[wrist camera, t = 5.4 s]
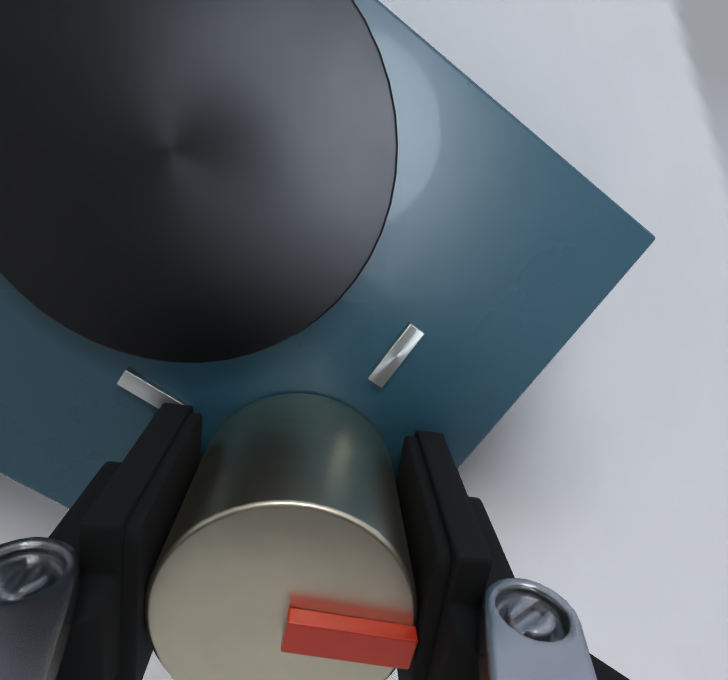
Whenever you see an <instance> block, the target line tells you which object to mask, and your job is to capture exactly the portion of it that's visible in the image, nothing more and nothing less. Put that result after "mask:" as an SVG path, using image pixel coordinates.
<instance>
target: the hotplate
mask: <svg viewBox="0 0 728 680" xmlns="http://www.w3.org/2000/svg"><path fill="white" fill-rule="evenodd" d="M397 160H398V133H397V117H396V110H395V105H394V100H393V94H392V89H391V84H390V80H389V77H388V74H387V71H386V68H385V64H384V61H383V58H382V55H381V52H380V50H379V47H378V45H377V43H376V41H375V39H374V36H373V34H372V32H371V30H370V28H369V26H368V23H367V21H366V19H365V18H364V16H363V15H362V13H361V11H360V10H359V8H358V6H357V5H356V3H355V2H354V0H0V273H1V274H2V275H3V276H4V277H5V278H6V279H7V280H8V281H9V283H10V284H11V285H12V286H13V287H14V288H15V289H16V290H17V291H18V292H19V293H20V294H21V295H23V296H24V297H25V298H26V299H27V300H29V301H30V302H31V303H32V304H33V305H34V306H36V307H37V308H38V309H39V310H40V311H42V312H43V313H44V314H46V315H47V316H49V317H50V318H52V319H53V320H55V321H56V322H58V323H59V324H61V325H62V326H64V327H65V328H67V329H69V330H71V331H73V332H75V333H76V334H78V335H80V336H82V337H84V338H86V339H88V340H90V341H92V342H94V343H97V344H100V345H102V346H105V347H107V348H110V349H112V350H115V351H118V352H121V353H125V354H129V355H133V356H137V357H140V358H144V359H151V360H158V361H165V362H173V363H204V362H214V361H224V360H229V359H233V358H238V357H242V356H247V355H251V354H254V353H256V352H259V351H262V350H264V349H267V348H270V347H273V346H275V345H277V344H279V343H281V342H283V341H285V340H287V339H289V338H291V337H293V336H294V335H296V334H298V333H300V332H301V331H303V330H304V329H305V328H307V327H308V326H310V325H311V324H313V323H314V322H315V321H317V320H318V319H320V318H321V317H322V316H323V315H324V314H325V313H326V312H327V311H328V310H329V309H331V308H332V307H333V306H334V305H335V304H336V303H337V302H338V301H339V300H340V299H341V298H342V297H343V295H344V294H345V293H346V292H347V291H348V289H349V288H350V287H351V286H352V285H353V283H354V282H355V281H356V280H357V278H358V277H359V275H360V273H361V272H362V270H363V269H364V267H365V266H366V264H367V262H368V261H369V259H370V258H371V256H372V254H373V251H374V249H375V247H376V245H377V243H378V241H379V239H380V236H381V234H382V232H383V229H384V226H385V223H386V220H387V217H388V213H389V210H390V207H391V203H392V198H393V193H394V187H395V182H396V176H397Z"/></svg>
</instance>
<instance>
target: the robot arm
mask: <svg viewBox="0 0 728 680" xmlns="http://www.w3.org/2000/svg"><path fill="white" fill-rule="evenodd" d="M201 434H202V414H200V413H194V411H193V406H191V405H183V404H173V403H163V404H162V406H161V407H160V408H159V410H158V411H157V413H156V414H155V416H154V417H153V418H152V420H151V421H150V423H149V424H148V426H147V427H146V428H145V430H144V431H143V433H142V434H141V436H140V437H139V438H138V440H137V441H136V443H135V444H134V446H133V447H132V448H131V450H130V451H129V453H128V454H127V456H126V457H125V459H124V460H123V461H122V462H113V461H109V462H106V463H105V464H104V465H103V466H102V467H101V469H100V470H99V471H98V472H97V474H96V475H95V476H94V478H93V479H92V480H91V482H90V483H89V484H88V486H87V487H86V488H85V490H84V491H83V492H82V494H81V495H80V496H79V498H78V499H77V500H76V502H75V503H74V504H73V506H72V507H71V508H70V510H69V511H68V512H67V514H66V515H65V516H64V518H63V519H62V520H61V522H60V523H59V524H58V526H57V527H56V528H55V530H54V531H53V532H52V534H51V535H50V536H49V538H43V537H33V538H25V539H18V540H14V541H11V542H7V543H4V544H1V545H0V680H142V679H143V676H144V673H145V670H146V668H147V665H148V662H149V660H150V657H151V654H152V651H153V648H152V645H151V643H150V640H149V637H148V633H147V629H146V624H145V614H144V607H145V594H146V590H147V586H148V581H149V579H150V576H151V574H152V572H153V569H154V567H155V565H156V562H157V560H158V558H159V556H160V553H161V551H162V549H163V546H164V544H165V542H166V540H167V537H168V535H169V533H170V530H171V528H172V526H173V524H174V521H175V519H176V517H177V514H178V512H179V510H180V508H181V505H182V503H183V501H184V499H185V496H186V494H187V492H188V489H189V487H190V485H191V483H192V480H193V478H194V476H195V473H196V471H197V469H198V467H199V464H200V450H201ZM396 488H397V493H398V498H399V504H400V509H401V514H402V519H403V524H404V530H405V535H406V540H407V545H408V551H409V556H410V561H411V566H412V571H413V577H414V582H415V587H416V592H417V603H418V612H417V623H416V632H417V637H418V644H417V647H416V650H415V653H414V656H413V659H412V661H411V664H410V667H409V669H408V670H406V669H399V668H397V671H398V679H399V680H629V679H628V678H626V677H625V676H623V675H622V674H620V673H619V672H617V671H616V670H614V669H613V668H611V667H610V666H608V665H607V664H605V663H604V662H602V661H601V660H599V659H597V658H596V657H594V656H593V655H591V654H590V653H589V650H588V647H587V643H586V640H585V637H584V633H583V630H582V626H581V623H580V621H579V619H578V616H577V614H576V612H575V611H574V609H573V608H572V607H571V606H570V605H569V604H568V602H567V601H566V600H565V599H563V598H562V597H561V596H560V595H558V594H557V593H556V592H554V591H553V590H551V589H549V588H547V587H545V586H543V585H542V584H539V583H536V582H533V581H530V580H527V579H520V578H515V577H514V575H513V573H512V570H511V568H510V566H509V563H508V561H507V559H506V557H505V554H504V552H503V550H502V547H501V545H500V543H499V540H498V538H497V536H496V533H495V531H494V529H493V526H492V524H491V522H490V519H489V517H488V515H487V512H486V510H485V508H484V506H483V503H482V502H481V500H480V499H479V498H476V497H468V495H467V493H466V490H465V488H464V485H463V483H462V480H461V478H460V475H459V473H458V470H457V468H456V465H455V463H454V460H453V458H452V455H451V453H450V450H449V448H448V445H447V443H446V440H445V437H444V435H443V433H438V432H429V431H420V430H416V431H415V433H414V436H413V437H412V436H406V437H405V439H404V442H403V448H402V453H401V458H400V464H399V469H398V474H397V480H396Z"/></svg>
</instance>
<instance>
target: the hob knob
mask: <svg viewBox="0 0 728 680" xmlns="http://www.w3.org/2000/svg"><path fill="white" fill-rule="evenodd" d="M417 612H418V603H417V592H416V587H415V582H414V577H413V571H412V566H411V561H410V556H409V551H408V545H407V540H406V535H405V530H404V524H403V519H402V514H401V509H400V504H399V498H398V493H397V488H396V483H395V477H394V472H393V467H392V463H391V458H390V454H389V452H388V449H387V447H386V445H385V443H384V441H383V439H382V438H381V436H380V434H379V433H378V432H377V430H376V429H375V428H374V427H373V425H372V424H371V423H370V422H369V421H367V420H366V419H365V418H364V417H363V416H362V415H361V414H359V413H358V412H356V411H355V410H354V409H352V408H350V407H348V406H346V405H345V404H343V403H340V402H338V401H335V400H333V399H330V398H327V397H323V396H319V395H313V394H305V393H289V394H280V395H275V396H270V397H266V398H263V399H260V400H258V401H255V402H253V403H251V404H249V405H247V406H245V407H243V408H241V409H240V410H238V411H237V412H235V413H234V414H233V415H231V416H230V417H229V418H228V419H227V420H226V421H225V422H224V423H223V424H222V425H221V426H220V427H219V428H218V430H217V431H216V432H215V434H214V435H213V437H212V439H211V440H210V442H209V444H208V446H207V448H206V451H205V453H204V455H203V457H202V460H201V462H200V464H199V467H198V469H197V471H196V473H195V476H194V478H193V480H192V483H191V485H190V487H189V489H188V492H187V494H186V496H185V499H184V501H183V503H182V505H181V508H180V510H179V512H178V514H177V517H176V519H175V521H174V524H173V526H172V528H171V530H170V533H169V535H168V537H167V540H166V542H165V544H164V546H163V549H162V551H161V553H160V556H159V558H158V560H157V562H156V565H155V567H154V569H153V572H152V574H151V576H150V579H149V581H148V586H147V590H146V594H145V607H144V614H145V624H146V629H147V633H148V637H149V640H150V643H151V645H152V648H153V650H154V652H155V654H156V656H157V657H158V659H159V661H160V662H161V664H162V665H163V667H164V668H165V669H166V670H167V672H168V673H169V674H170V675H171V676H172V677H173V678H174V679H175V680H386V679H387V678H388V677H389V676H390V675H391V674H392V672H393V671H394V670H395V669H396V668H399V669H406V670H408V669H409V667H410V664H411V661H412V659H413V656H414V653H415V650H416V647H417V644H418V637H417V632H416V623H417Z"/></svg>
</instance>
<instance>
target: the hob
mask: <svg viewBox="0 0 728 680" xmlns="http://www.w3.org/2000/svg"><path fill="white" fill-rule="evenodd" d="M354 2H355V3H356V5H357V6H358V8H359V10H360V11H361V13H362V15H363V16H364V18H365V19H366V21H367V23H368V26H369V28H370V30H371V32H372V34H373V36H374V39H375V41H376V43H377V45H378V47H379V50H380V52H381V55H382V58H383V61H384V64H385V68H386V71H387V74H388V77H389V80H390V84H391V89H392V94H393V100H394V105H395V110H396V117H397V133H398V160H397V176H396V182H395V187H394V193H393V198H392V203H391V207H390V210H389V213H388V217H387V220H386V223H385V226H384V229H383V232H382V234H381V236H380V239H379V241H378V243H377V245H376V247H375V249H374V251H373V254H372V256H371V258H370V259H369V261H368V262H367V264H366V266H365V267H364V269H363V270H362V272H361V273H360V275H359V277H358V278H357V280H356V281H355V282H354V283H353V285H352V286H351V287H350V288H349V289H348V291H347V292H346V293H345V294H344V295H343V297H342V298H341V299H340V300H339V301H338V302H337V303H336V304H335V305H334V306H333V307H332V308H331V309H329V310H328V311H327V312H326V313H325V314H324V315H323V316H322V317H321V318H320V319H318V320H317V321H315V322H314V323H313V324H311V325H310V326H308V327H307V328H305V329H304V330H303V331H301V332H300V333H298V334H296V335H294V336H293V337H291V338H289V339H287V340H285V341H283V342H281V343H279V344H277V345H275V346H273V347H270V348H267V349H264V350H262V351H259V352H256V353H254V354H251V355H247V356H242V357H238V358H233V359H229V360H224V361H214V362H204V363H173V362H165V361H158V360H151V359H144V358H140V357H137V356H133V355H129V354H125V353H121V352H118V351H115V350H112V349H110V348H107V347H105V346H102V345H100V344H97V343H94V342H92V341H90V340H88V339H86V338H84V337H82V336H80V335H78V334H76V333H75V332H73V331H71V330H69V329H67V328H65V327H64V326H62V325H61V324H59V323H58V322H56V321H55V320H53V319H52V318H50V317H49V316H47V315H46V314H44V313H43V312H42V311H40V310H39V309H38V308H37V307H36V306H34V305H33V304H32V303H31V302H30V301H29V300H27V299H26V298H25V297H24V296H23V295H21V294H20V293H19V292H18V291H17V290H16V289H15V288H14V287H13V286H12V285H11V284H10V283H9V281H8V280H7V279H6V278H5V277H4V276H3V275H2V274H1V273H0V473H2V474H4V475H6V476H8V477H10V478H12V479H14V480H16V481H17V482H19V483H21V484H23V485H25V486H27V487H29V488H31V489H33V490H35V491H37V492H39V493H40V494H42V495H44V496H46V497H48V498H50V499H52V500H54V501H56V502H58V503H60V504H61V505H63V506H65V507H67V508H69V509H70V508H71V507H72V506H73V504H74V503H75V502H76V500H77V499H78V498H79V496H80V495H81V494H82V492H83V491H84V490H85V488H86V487H87V486H88V484H89V483H90V482H91V480H92V479H93V478H94V476H95V475H96V474H97V472H98V471H99V470H100V469H101V467H102V466H103V465H104V464H105V463H106V462H109V461H113V462H122V461H123V460H124V459H125V457H126V456H127V454H128V453H129V451H130V450H131V448H132V447H133V446H134V444H135V443H136V441H137V440H138V438H139V437H140V436H141V434H142V433H143V431H144V430H145V428H146V427H147V426H148V424H149V423H150V421H151V420H152V418H153V417H154V416H155V414H156V413H157V411H158V410H159V408H160V407H161V406H162V404H163V403H173V404H183V405H191V406H193V411H194V413H200V414H202V434H201V450H200V462H201V460H202V457H203V455H204V453H205V451H206V448H207V446H208V444H209V442H210V440H211V439H212V437H213V435H214V434H215V432H216V431H217V430H218V428H219V427H220V426H221V425H222V424H223V423H224V422H225V421H226V420H227V419H228V418H229V417H230V416H231V415H233V414H234V413H235V412H237V411H238V410H240V409H241V408H243V407H245V406H247V405H249V404H251V403H253V402H255V401H258V400H260V399H263V398H266V397H270V396H275V395H280V394H289V393H305V394H313V395H319V396H323V397H327V398H330V399H333V400H335V401H338V402H340V403H343V404H345V405H346V406H348V407H350V408H352V409H354V410H355V411H356V412H358V413H359V414H361V415H362V416H363V417H364V418H365V419H366V420H367V421H369V422H370V423H371V424H372V425H373V427H374V428H375V429H376V430H377V432H378V433H379V434H380V436H381V438H382V439H383V441H384V443H385V445H386V447H387V449H388V452H389V454H390V458H391V463H392V467H393V472H394V477H395V483H396V480H397V474H398V469H399V464H400V458H401V453H402V448H403V442H404V439H405V437H406V436H412V437H413V436H414V433H415V431H416V430H420V431H429V432H438V433H443V435H444V437H445V440H446V443H447V445H448V448H449V450H450V453H451V455H452V458H453V460H454V463H455V465H456V468H457V469H458V468H459V466H460V465H461V464H462V463H463V462H464V461H465V459H466V458H467V457H468V456H469V455H470V454H471V452H472V451H473V450H474V449H475V448H476V447H477V446H478V444H479V443H480V442H481V441H482V440H483V439H484V437H485V436H486V435H487V434H488V433H489V432H490V430H491V429H492V428H493V427H494V426H495V425H496V423H497V422H498V421H499V420H500V419H501V418H502V417H503V415H504V414H505V413H506V412H507V411H508V410H509V408H510V407H511V406H512V405H513V404H514V403H515V401H516V400H517V399H518V398H519V397H520V396H521V394H522V393H523V392H524V391H525V390H526V389H527V388H528V386H529V385H530V384H531V383H532V382H533V381H534V379H535V378H536V377H537V376H538V375H539V374H540V372H541V371H542V370H543V369H544V368H545V367H546V365H547V364H548V363H549V362H550V361H551V360H552V358H553V357H554V356H555V355H556V354H557V353H558V352H559V350H560V349H561V348H562V347H563V346H564V345H565V343H566V342H567V341H568V340H569V339H570V338H571V336H572V335H573V334H574V333H575V332H576V331H577V329H578V328H579V327H580V326H581V325H582V324H583V323H584V321H585V320H586V319H587V318H588V317H589V316H590V314H591V313H592V312H593V311H594V310H595V309H596V307H597V306H598V305H599V304H600V303H601V302H602V300H603V299H604V298H605V297H606V296H607V295H608V293H609V292H610V291H611V290H612V289H613V288H614V287H615V285H616V284H617V283H618V282H619V281H620V280H621V278H622V277H623V276H624V275H625V274H626V273H627V271H628V270H629V269H630V268H631V267H632V266H633V264H634V263H635V262H636V261H637V260H638V259H639V258H640V256H641V255H642V254H643V253H644V252H645V251H646V249H647V248H648V247H649V246H650V245H651V244H652V242H653V241H654V240H655V237H654V235H652V234H651V233H650V232H649V231H648V230H647V229H645V228H644V227H643V226H642V225H641V224H640V223H638V222H637V221H636V220H635V219H634V218H633V217H631V216H630V215H629V214H628V213H627V212H626V211H624V210H623V209H622V208H621V207H620V206H619V205H617V204H616V203H615V202H614V201H613V200H611V199H610V198H609V197H608V196H607V195H606V194H604V193H603V192H602V191H601V190H600V189H599V188H597V187H596V186H595V185H594V184H593V183H592V182H590V181H589V180H588V179H587V178H586V177H585V176H583V175H582V174H581V173H580V172H579V171H578V170H576V169H575V168H574V167H573V166H572V165H570V164H569V163H568V162H567V161H566V160H565V159H563V158H562V157H561V156H560V155H559V154H558V153H556V152H555V151H554V150H553V149H552V148H551V147H549V146H548V145H547V144H546V143H545V142H544V141H542V140H541V139H540V138H539V137H538V136H537V135H535V134H534V133H533V132H532V131H531V130H529V129H528V128H527V127H526V126H525V125H524V124H522V123H521V122H520V121H519V120H518V119H517V118H515V117H514V116H513V115H512V114H511V113H510V112H508V111H507V110H506V109H505V108H504V107H503V106H501V105H500V104H499V103H498V102H497V101H496V100H494V99H493V98H492V97H491V96H490V95H488V94H487V93H486V92H485V91H484V90H483V89H481V88H480V87H479V86H478V85H477V84H476V83H474V82H473V81H472V80H471V79H470V78H469V77H467V76H466V75H465V74H464V73H463V72H462V71H460V70H459V69H458V68H457V67H456V66H455V65H453V64H452V63H451V62H450V61H449V60H447V59H446V58H445V57H444V56H443V55H442V54H440V53H439V52H438V51H437V50H436V49H435V48H433V47H432V46H431V45H430V44H429V43H428V42H426V41H425V40H424V39H423V38H422V37H421V36H419V35H418V34H417V33H416V32H415V31H414V30H412V29H411V28H410V27H409V26H408V25H406V24H405V23H404V22H403V21H402V20H401V19H399V18H398V17H397V16H396V15H395V14H394V13H392V12H391V11H390V10H389V9H388V8H387V7H385V6H384V5H383V4H382V3H381V2H380V1H378V0H354Z"/></svg>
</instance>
